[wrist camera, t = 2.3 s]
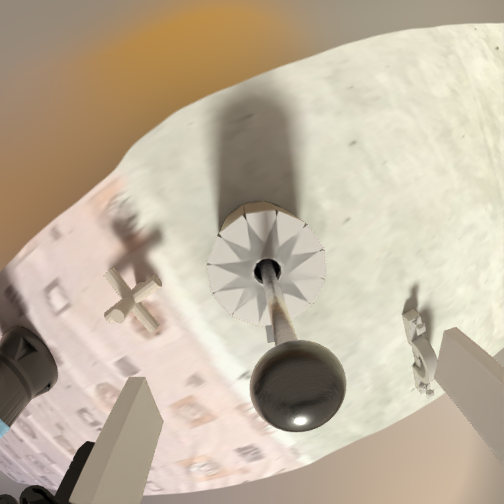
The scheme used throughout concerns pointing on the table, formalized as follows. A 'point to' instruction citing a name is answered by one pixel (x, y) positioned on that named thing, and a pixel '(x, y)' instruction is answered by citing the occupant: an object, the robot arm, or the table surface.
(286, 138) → the table surface
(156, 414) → the robot arm
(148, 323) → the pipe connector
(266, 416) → the plunger
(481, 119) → the table surface
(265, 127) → the table surface
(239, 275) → the wooden mug
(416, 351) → the gateway
